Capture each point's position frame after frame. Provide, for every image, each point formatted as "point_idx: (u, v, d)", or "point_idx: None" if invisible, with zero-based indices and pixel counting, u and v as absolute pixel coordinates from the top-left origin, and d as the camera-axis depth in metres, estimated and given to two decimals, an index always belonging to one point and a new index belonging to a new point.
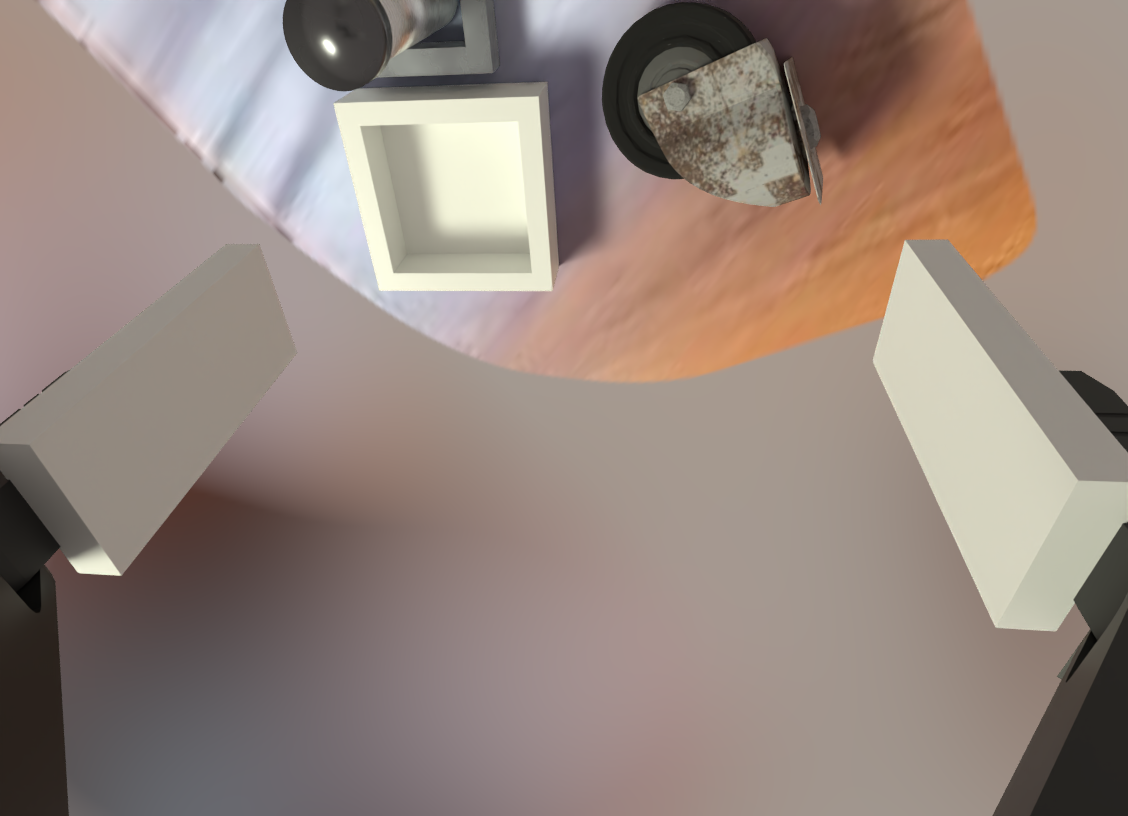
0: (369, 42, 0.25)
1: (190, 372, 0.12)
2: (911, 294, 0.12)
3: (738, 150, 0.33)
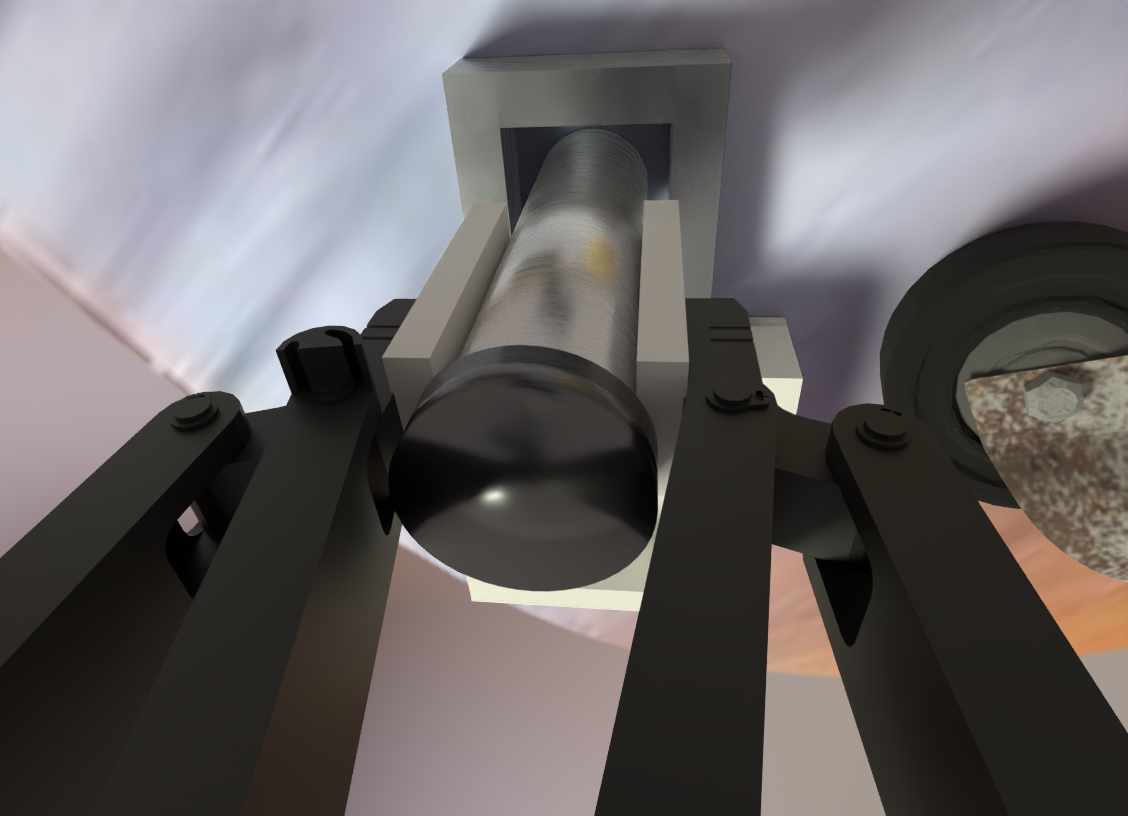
0: (620, 522, 0.09)
1: None
2: None
3: None
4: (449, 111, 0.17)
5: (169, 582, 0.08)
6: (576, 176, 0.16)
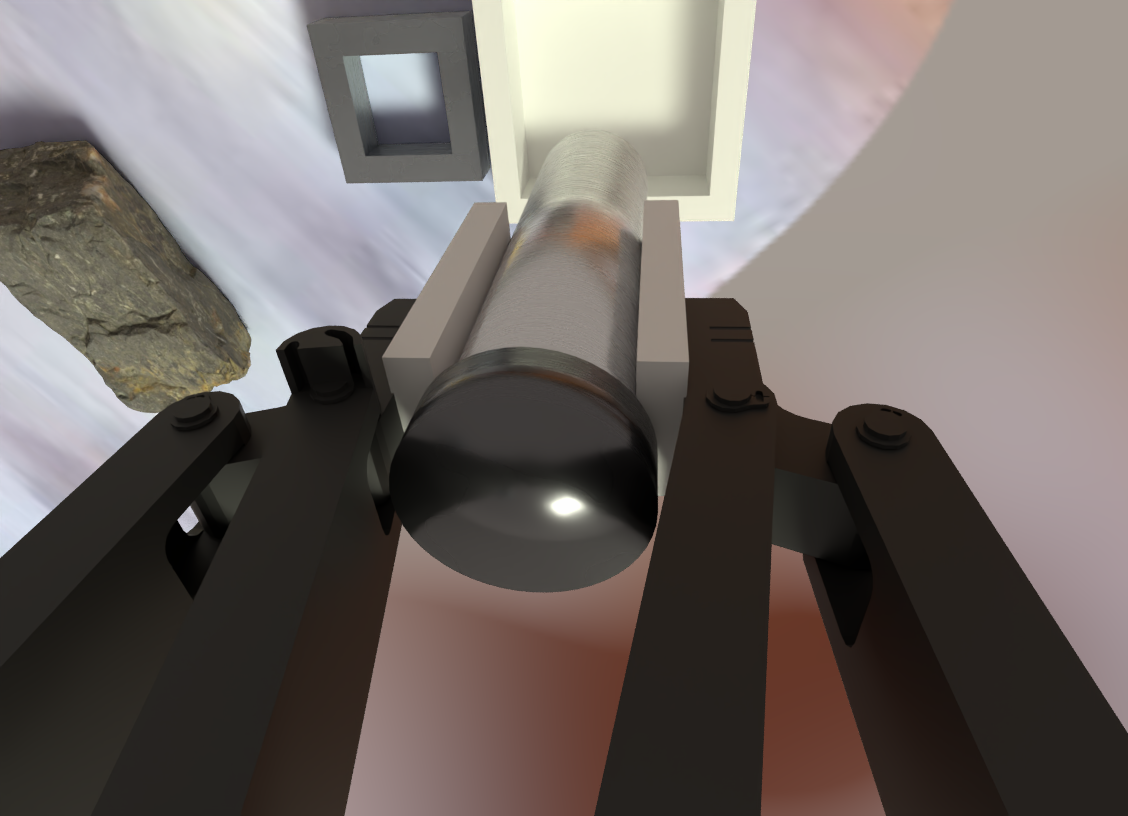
0: (620, 523, 0.09)
1: None
2: None
3: None
4: (362, 182, 0.33)
5: (169, 583, 0.08)
6: (576, 177, 0.16)
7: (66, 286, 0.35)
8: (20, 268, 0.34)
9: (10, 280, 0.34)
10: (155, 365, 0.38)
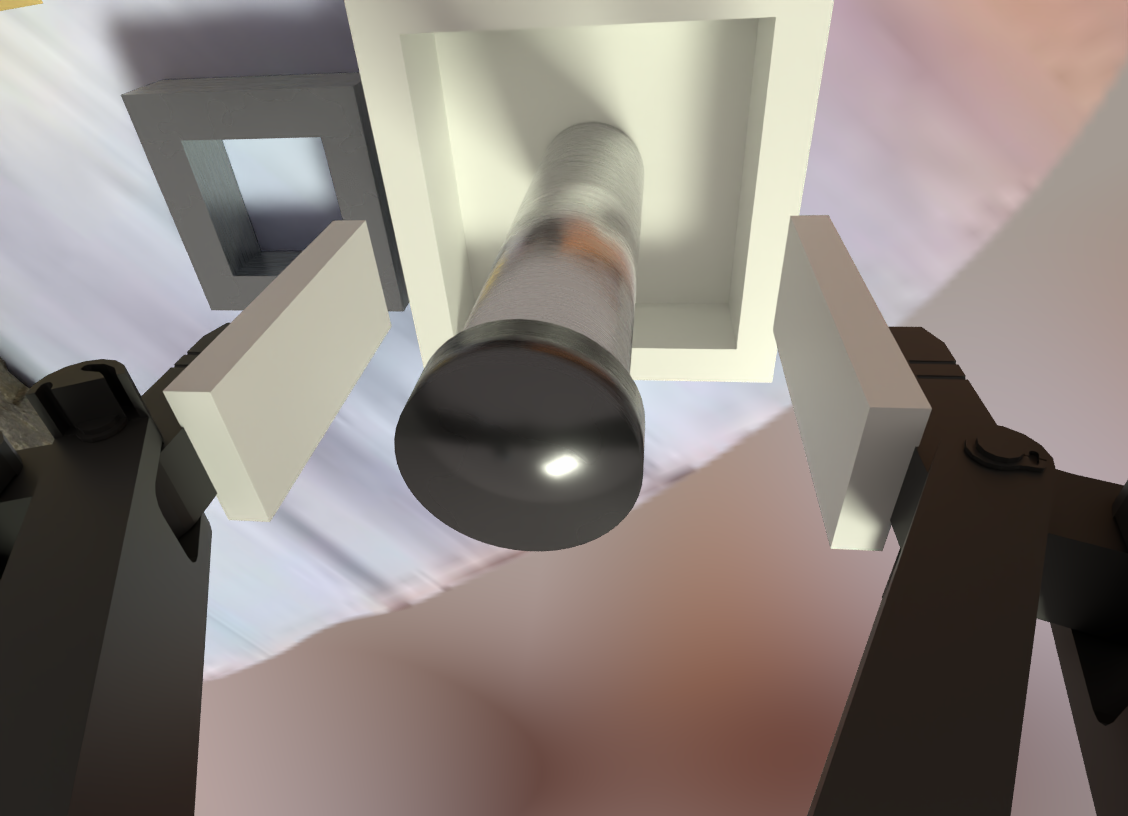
0: (608, 484, 0.10)
1: (317, 337, 0.13)
2: (793, 264, 0.13)
3: None
4: (233, 309, 0.23)
5: None
6: (575, 166, 0.16)
7: None
8: None
9: None
10: None
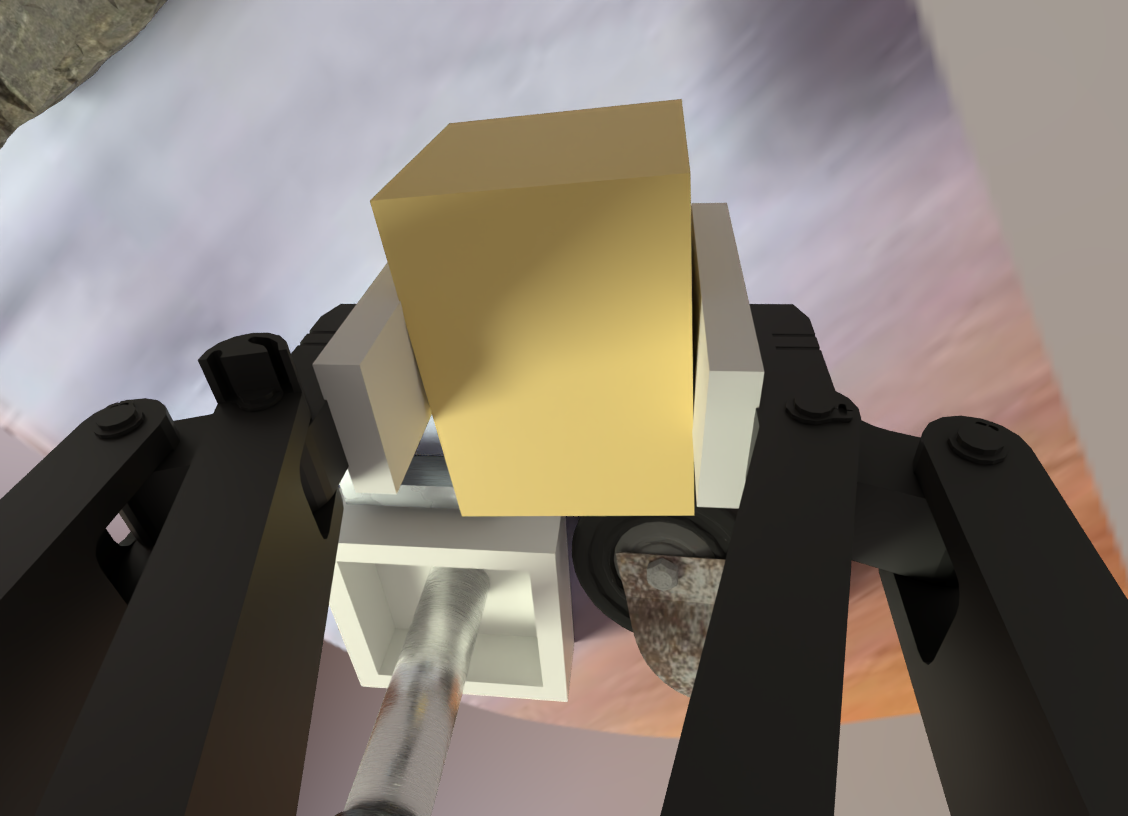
0: None
1: None
2: (691, 249, 0.14)
3: None
4: None
5: (103, 590, 0.08)
6: (472, 649, 0.31)
7: None
8: None
9: None
10: None
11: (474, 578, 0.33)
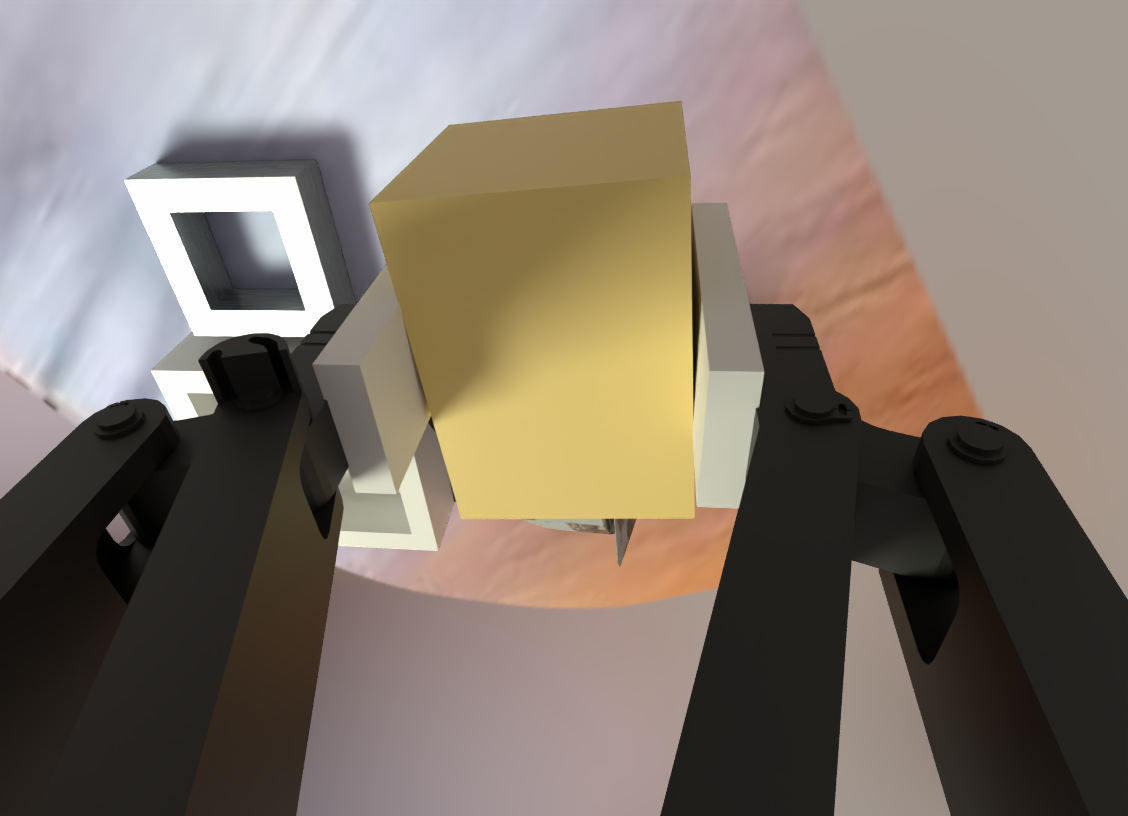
0: None
1: None
2: (691, 249, 0.14)
3: None
4: (134, 202, 0.26)
5: (103, 590, 0.08)
6: None
7: None
8: None
9: None
10: None
11: None
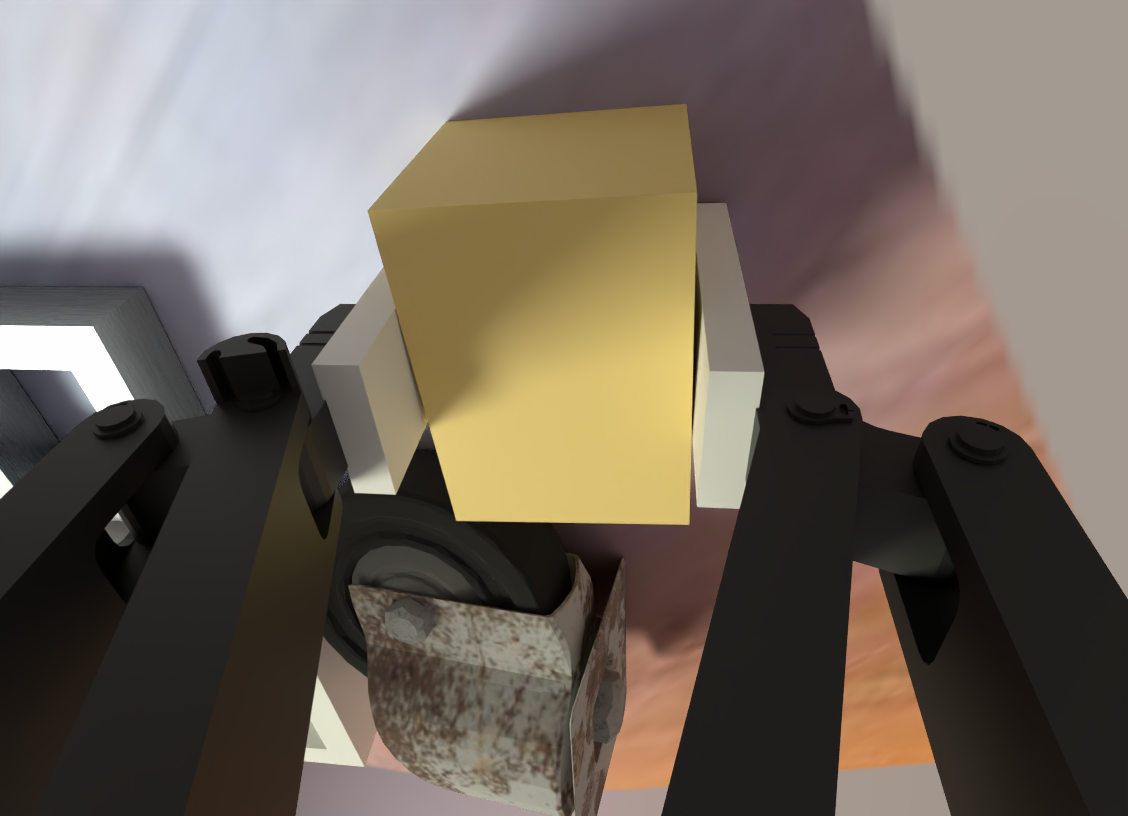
0: None
1: None
2: None
3: (477, 757, 0.19)
4: None
5: (102, 590, 0.08)
6: None
7: None
8: None
9: None
10: None
11: None
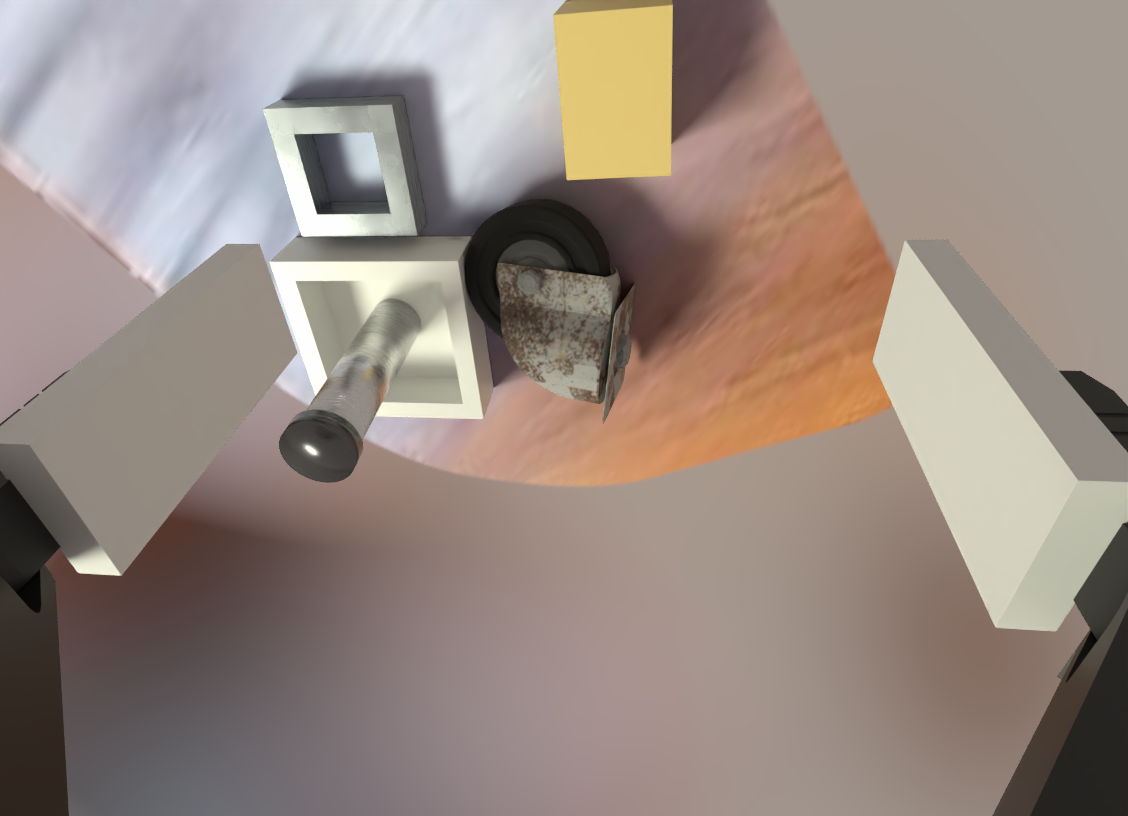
0: (319, 474, 0.34)
1: (190, 372, 0.12)
2: (911, 294, 0.12)
3: (558, 352, 0.37)
4: (268, 126, 0.35)
5: None
6: (402, 354, 0.40)
7: None
8: None
9: None
10: None
11: (406, 312, 0.42)
